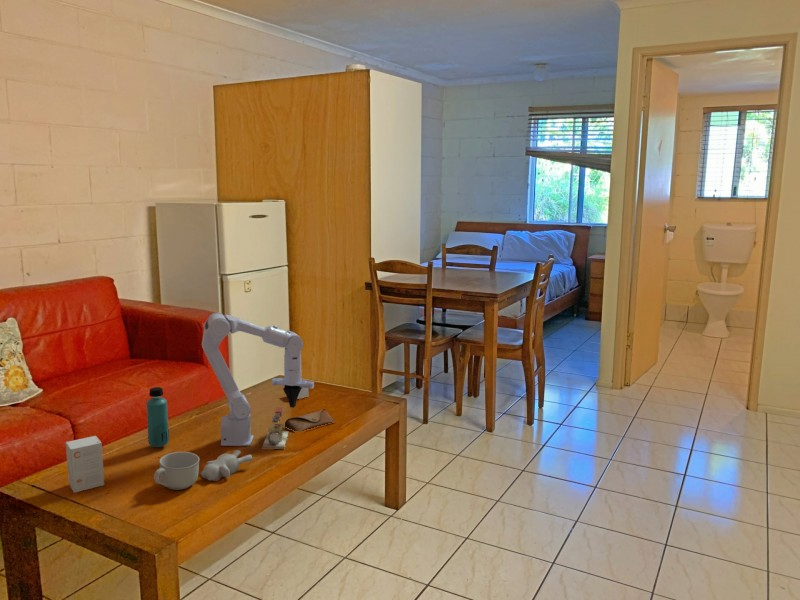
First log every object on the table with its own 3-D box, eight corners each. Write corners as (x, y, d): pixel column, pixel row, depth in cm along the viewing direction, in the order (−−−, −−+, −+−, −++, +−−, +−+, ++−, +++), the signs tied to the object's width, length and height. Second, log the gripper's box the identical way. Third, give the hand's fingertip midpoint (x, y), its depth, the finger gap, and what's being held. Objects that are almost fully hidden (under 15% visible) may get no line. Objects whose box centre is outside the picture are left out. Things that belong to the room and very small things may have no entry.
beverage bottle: (162, 452, 203) (160, 392, 199) (143, 450, 204) (140, 390, 200) (173, 444, 209) (171, 386, 205) (155, 442, 210) (152, 384, 206)
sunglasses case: (298, 434, 219) (292, 416, 221) (288, 439, 224) (282, 421, 226) (339, 422, 232) (333, 404, 233) (328, 426, 237) (323, 409, 238)
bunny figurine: (194, 464, 186) (234, 442, 198) (196, 480, 187) (236, 457, 199) (215, 473, 181) (255, 450, 192) (217, 489, 182) (256, 465, 194)
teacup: (186, 472, 189) (185, 447, 188) (207, 484, 183) (207, 458, 181) (142, 489, 179) (141, 462, 177) (163, 502, 172) (162, 474, 170)
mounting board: (284, 449, 207) (284, 446, 207) (262, 449, 207) (262, 446, 207) (288, 434, 220) (288, 431, 220) (268, 433, 220) (268, 431, 219)
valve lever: (278, 423, 211) (278, 418, 211) (271, 423, 211) (271, 418, 211) (283, 412, 221) (283, 407, 221) (276, 412, 221) (276, 407, 221)
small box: (98, 477, 185) (96, 435, 183) (104, 485, 180) (102, 442, 178) (68, 484, 180) (65, 441, 178) (73, 493, 175) (70, 449, 173)
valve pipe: (280, 446, 208) (280, 431, 207) (266, 446, 208) (266, 431, 207) (284, 433, 219) (284, 418, 218) (271, 433, 219) (271, 418, 218)
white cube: (302, 393, 262) (302, 379, 261) (308, 398, 257) (308, 383, 256) (288, 396, 258) (288, 381, 257) (294, 400, 254) (295, 386, 253)
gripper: (317, 366, 218) (316, 404, 220) (277, 363, 220) (277, 400, 223) (310, 372, 211) (309, 411, 213) (269, 368, 214) (269, 407, 216)
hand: (292, 406), depth 218 cm, fingers closed
